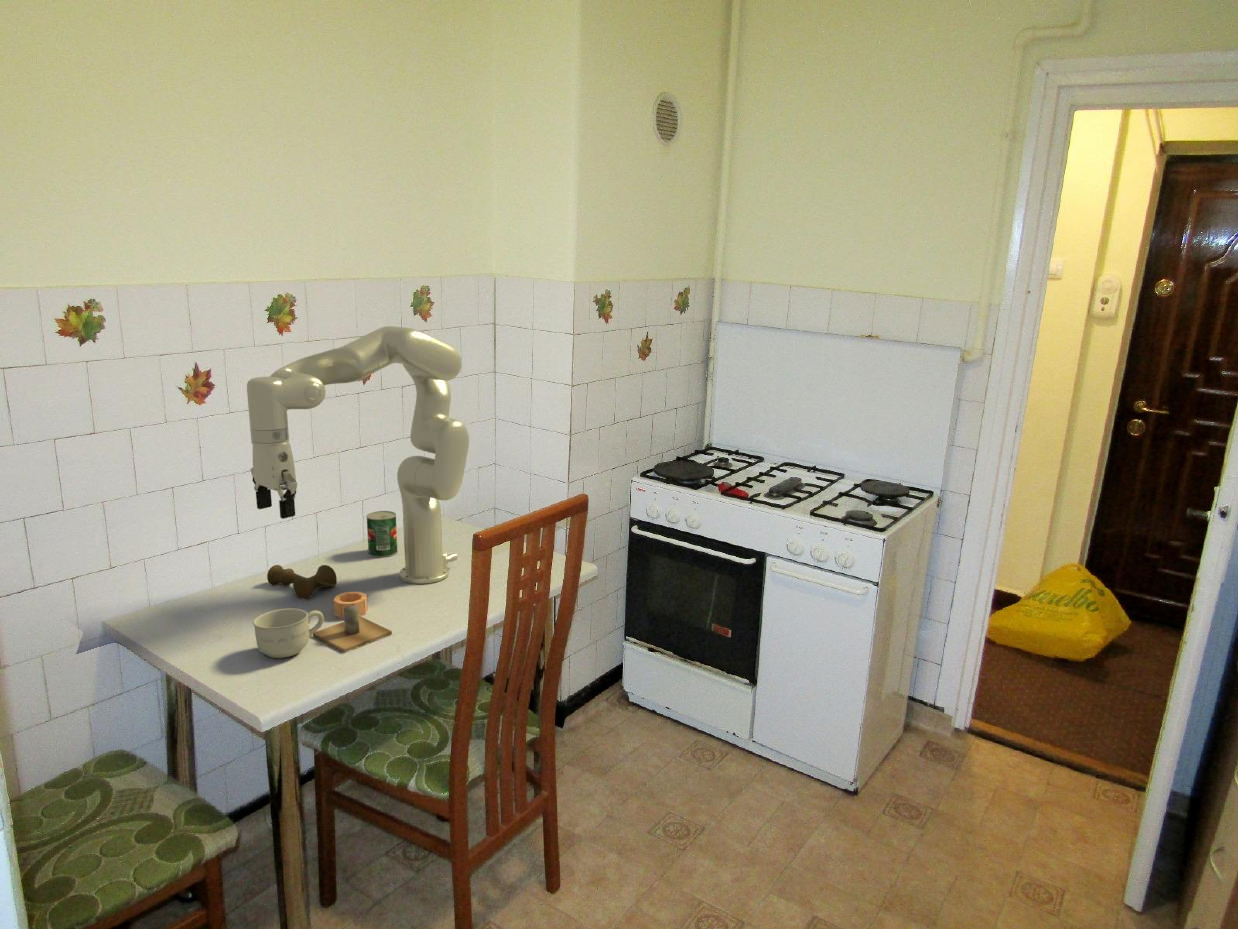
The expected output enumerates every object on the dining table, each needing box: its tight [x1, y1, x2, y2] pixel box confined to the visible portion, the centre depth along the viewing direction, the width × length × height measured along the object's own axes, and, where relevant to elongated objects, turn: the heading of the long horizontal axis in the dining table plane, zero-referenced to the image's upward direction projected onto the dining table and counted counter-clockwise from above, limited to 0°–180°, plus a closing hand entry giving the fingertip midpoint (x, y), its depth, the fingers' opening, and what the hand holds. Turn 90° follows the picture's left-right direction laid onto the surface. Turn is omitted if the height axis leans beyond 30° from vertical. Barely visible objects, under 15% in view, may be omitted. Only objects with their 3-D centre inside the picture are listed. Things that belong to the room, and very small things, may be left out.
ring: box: [333, 591, 368, 619], centre depth 206 cm, size 7×7×4 cm
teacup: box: [252, 608, 325, 659], centre depth 186 cm, size 14×11×8 cm
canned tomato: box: [366, 510, 399, 558], centre depth 244 cm, size 8×8×11 cm
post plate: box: [312, 606, 393, 654], centre depth 194 cm, size 12×12×6 cm
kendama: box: [266, 564, 338, 600], centre depth 218 cm, size 6×10×20 cm
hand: (276, 512), depth 192 cm, fingers open, 9 cm apart
